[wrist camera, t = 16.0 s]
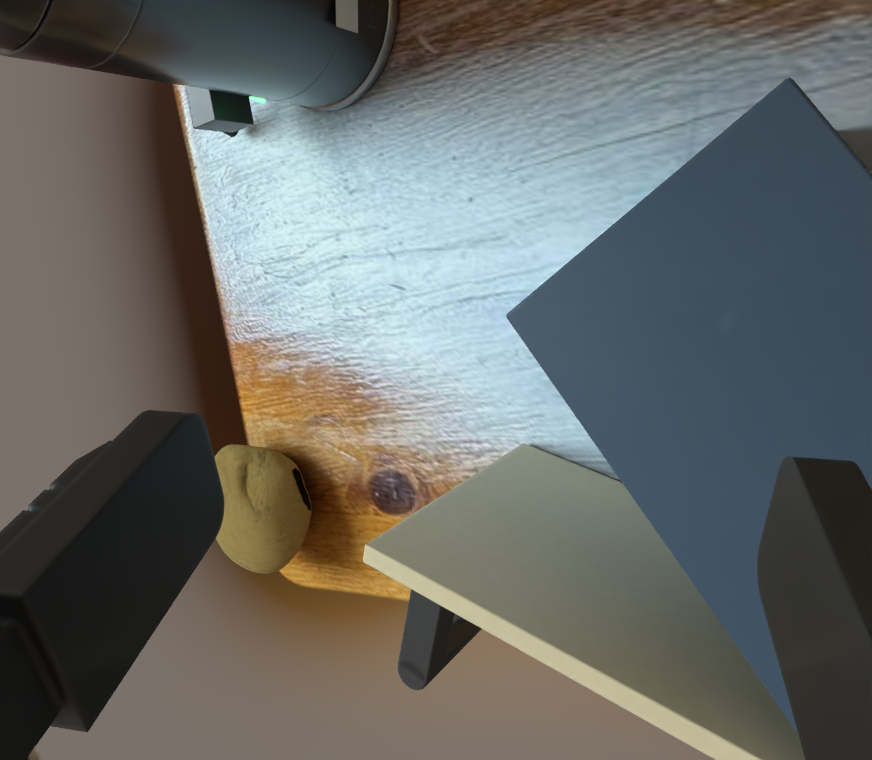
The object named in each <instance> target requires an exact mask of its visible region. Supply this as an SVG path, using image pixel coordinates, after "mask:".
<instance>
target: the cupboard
mask: <svg viewBox="0 0 872 760" xmlns="http://www.w3.org/2000/svg"><path fill="white" fill-rule="evenodd" d="M507 319H508V320H509V321H510V323H511V324H512V326H513V327H514V329H515V330H516V331H517V333H518V334H519V336H520V337H521V339H522V340H523V341H524V343H525V344H526V346H527V347H528V349H529V350H530V351H531V353H532V354H533V356H534V357H535V359H536V360H537V361H538V363H539V364H540V366H541V367H542V369H543V370H544V371H545V373H546V374H547V376H548V377H549V379H550V380H551V381H552V383H553V384H554V386H555V387H556V389H557V390H558V391H559V393H560V394H561V396H562V397H563V399H564V400H565V401H566V403H567V404H568V406H569V407H570V409H571V410H572V411H573V413H574V414H575V416H576V417H577V419H578V420H579V421H580V423H581V424H582V426H583V427H584V429H585V430H586V431H587V433H588V434H589V436H590V437H591V439H592V440H593V441H594V443H595V444H596V446H597V447H598V449H599V450H600V451H601V453H602V454H603V456H604V457H605V459H606V460H607V461H608V463H609V464H610V466H611V467H612V469H613V470H614V471H615V473H616V474H617V476H618V477H619V479H620V480H621V481H622V483H623V484H624V486H625V487H626V489H627V490H628V491H629V493H630V494H631V496H632V497H633V499H634V500H635V501H636V503H637V504H638V506H639V507H640V509H641V510H642V511H643V513H644V514H645V516H646V517H647V519H648V520H649V521H650V523H651V524H652V526H653V527H654V529H655V530H656V531H657V533H658V534H659V536H660V537H661V539H662V540H663V541H664V543H665V544H666V546H667V547H668V549H669V550H670V551H671V553H672V554H673V556H674V557H675V559H676V560H677V561H678V563H679V564H680V566H681V567H682V569H683V570H684V571H685V573H686V574H687V576H688V577H689V579H690V580H691V581H692V583H693V584H694V586H695V587H696V589H697V590H698V591H699V593H700V594H701V596H702V597H703V599H704V600H705V601H706V603H707V604H708V606H709V607H710V609H711V610H712V611H713V613H714V614H715V616H716V617H717V619H718V620H719V621H720V623H721V624H722V626H723V627H724V629H725V630H726V631H727V633H728V634H729V636H730V637H731V639H732V640H733V641H734V643H735V644H736V646H737V647H738V649H739V650H740V651H741V653H742V654H743V656H744V657H745V659H746V660H747V661H748V663H749V664H750V666H751V667H752V669H753V670H754V671H755V673H756V674H757V676H758V677H759V679H760V680H761V681H762V683H763V684H764V686H765V687H766V689H767V690H768V691H769V693H770V694H771V696H772V697H773V699H774V700H775V701H776V703H777V704H778V706H779V707H780V709H781V710H782V711H783V713H784V714H785V716H786V717H787V719H788V720H789V721H790V723H791V724H792V726H793V727H794V729H795V730H796V731H797V733H798V730H797V727H796V723H795V720H794V716H793V712H792V709H791V705H790V702H789V698H788V694H787V691H786V687H785V684H784V680H783V676H782V673H781V669H780V666H779V662H778V658H777V655H776V651H775V648H774V644H773V640H772V637H771V633H770V630H769V626H768V622H767V619H766V615H765V612H764V608H763V604H762V601H761V597H760V593H759V587H758V576H757V561H758V551H759V546H760V541H761V537H762V534H763V530H764V526H765V522H766V518H767V514H768V510H769V506H770V502H771V498H772V494H773V490H774V486H775V482H776V478H777V474H778V471H779V467H780V465H781V463H782V461H783V460H784V458H785V457H787V456H789V457H804V458H818V459H832V460H847V461H853V462H855V463H856V464H857V465H858V466H859V468H860V469H861V471H862V473H863V475H864V477H865V479H866V480H867V482H868V484H869V486H870V488H871V489H872V173H871V172H870V171H869V170H868V169H867V167H866V166H865V165H864V164H863V163H862V161H861V160H860V159H859V158H858V157H857V155H856V154H855V153H854V152H853V151H852V150H851V148H850V147H849V146H848V145H847V144H846V142H845V141H844V140H843V139H842V138H841V136H840V135H839V134H838V133H837V132H836V130H835V129H834V128H833V127H832V126H831V124H830V123H829V122H828V121H827V120H826V118H825V117H824V116H823V115H822V114H821V112H820V111H819V110H818V109H817V108H816V106H815V105H814V104H813V103H812V102H811V100H810V99H809V98H808V97H807V96H806V94H805V93H804V92H803V91H802V90H801V88H800V87H799V86H798V85H797V84H796V82H795V81H794V80H793V79H792V78H787V79H785V80H784V81H783V82H782V83H781V84H780V85H778V86H777V87H776V88H775V89H774V90H772V91H771V92H770V93H769V94H768V95H766V96H765V97H764V98H763V99H762V100H761V101H759V102H758V103H757V104H756V105H755V106H753V107H752V108H751V109H750V110H749V111H747V112H746V113H745V114H744V115H743V116H742V117H740V118H739V119H738V120H737V121H736V122H734V123H733V124H732V125H731V126H730V127H728V128H727V129H726V130H725V131H724V132H723V133H721V134H720V135H719V136H718V137H717V138H715V139H714V140H713V141H712V142H711V143H709V144H708V145H707V146H706V147H705V148H704V149H702V150H701V151H700V152H699V153H698V154H696V155H695V156H694V157H693V158H692V159H690V160H689V161H688V162H687V163H686V164H685V165H683V166H682V167H681V168H680V169H679V170H677V171H676V172H675V173H674V174H673V175H672V176H670V177H669V178H668V179H667V180H666V181H664V182H663V183H662V184H661V185H660V186H658V187H657V188H656V189H655V190H654V191H653V192H651V193H650V194H649V195H648V196H647V197H645V198H644V199H643V200H642V201H641V202H639V203H638V204H637V205H636V206H635V207H634V208H632V209H631V210H630V211H629V212H628V213H626V214H625V215H624V216H623V217H622V218H620V219H619V220H618V221H617V222H616V223H615V224H613V225H612V226H611V227H610V228H609V229H607V230H606V231H605V232H604V233H603V234H601V235H600V236H599V237H598V238H597V239H596V240H594V241H593V242H592V243H591V244H590V245H588V246H587V247H586V248H585V249H584V250H582V251H581V252H580V253H579V254H578V255H577V256H575V257H574V258H573V259H572V260H571V261H569V262H568V263H567V264H566V265H565V266H563V267H562V268H561V269H560V270H559V271H558V272H556V273H555V274H554V275H553V276H552V277H550V278H549V279H548V280H547V281H546V282H544V283H543V284H542V285H541V286H540V287H539V288H537V289H536V290H535V291H534V292H533V293H531V294H530V295H529V296H528V297H527V298H525V299H524V300H523V301H522V302H521V303H520V304H518V305H517V306H516V307H515V308H514V309H512V310H511V311H510V312H509V313H508V314H507Z"/></svg>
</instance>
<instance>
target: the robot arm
mask: <svg viewBox="0 0 872 760" xmlns="http://www.w3.org/2000/svg"><path fill="white" fill-rule="evenodd" d="M397 15H398V0H0V55H3V56H9V57H15V58H21V59H27V60H34V61H39V62H45V63H51V64H57V65H63V66H69V67H77V68H83V69H90V70H95V71H101V72H107V73H113V74H119V75H125V76H130V77H136V78H142V79H148V80H154V81H160V82H166V83H172V84H178V85H184V86H185V89H186V94H187V99H188V104H189V109H190V114H191V118H192V123H193V128H194V129H203V130H212V131H221V132H224V133H225V134H227V135H229V136H231V137H234V136H235V135H237V133H238V131H239V130H241V129H243V128H246V127H249V126H251V125H253V124H254V123H253V117H252V112H251V107H250V101H249V97H250V99H252V100H254V101H257V102H261V103H265V101H266V100H271V101H277V102H283V103H289V104H295V105H299V106H301V107H304V108H308V109H313V110H319V111H332V110H337V109H341V108H344V107H346V106H348V105H350V104H352V103H353V102H355V101H356V100H358V99H359V98H360V97H362V96H363V95H364V94H365V93H366V92H367V91H368V90H369V89H370V87H371V86H372V85H373V84H374V82H375V81H376V80H377V78H378V76H379V75H380V73H381V72H382V70H383V68H384V66H385V64H386V61H387V59H388V56H389V54H390V51H391V48H392V45H393V41H394V37H395V31H396V25H397ZM224 507H225V502H224V494H223V490H222V486H221V482H220V478H219V474H218V470H217V466H216V462H215V458H214V454H213V450H212V447H211V442H210V438H209V434H208V430H207V427H206V424H205V422H204V420H203V418H202V417H201V416H200V415H198V414H196V413H182V412H167V411H153V410H148V411H144V412H142V413H141V414H140V415H139V416H137V417H136V418H135V419H134V420H133V421H132V422H131V423H130V424H129V425H128V426H127V427H126V428H125V429H124V430H123V431H122V432H121V433H120V434H119V435H118V436H117V437H116V438H115V439H114V440H113V441H109V442H107V443H105V444H103V445H102V446H100V447H98V448H97V449H95V450H93V451H91V452H90V453H88V454H86V455H84V456H83V457H81V458H79V459H78V460H76V461H75V462H73V463H72V465H70V466H69V467H68V468H67V469H66V470H65V471H64V472H63V473H62V474H61V475H60V476H59V477H58V478H57V479H56V480H55V481H54V482H53V483H52V484H50V489H49V490H44V491H43V492H42V493H41V494H40V495H39V496H38V497H37V498H36V499H35V500H34V501H32V503H30V504H29V509H28V511H22V512H21V513H20V514H19V515H18V516H17V517H16V518H15V519H14V520H12V521H11V522H10V523H9V524H8V525H7V526H6V527H5V528H4V529H3V530H2V531H1V532H0V760H41V755H40V753H39V751H38V748H37V747H36V745H37V743H38V742H39V740H40V739H41V738H42V736H43V735H44V733H45V732H46V731H47V729H48V728H49V726H53V727H59V728H65V729H71V730H77V731H84V732H88V731H89V729H90V728H91V726H92V725H93V723H94V722H95V720H96V719H97V717H98V716H99V714H100V713H101V711H102V710H103V708H104V707H105V705H106V704H107V702H108V700H109V699H110V697H111V696H112V694H113V693H114V691H115V690H116V688H117V687H118V685H119V684H120V682H121V681H122V679H123V678H124V676H125V675H126V673H127V672H128V670H129V669H130V667H131V666H132V664H133V662H134V661H135V660H136V658H137V657H138V655H139V653H140V652H141V650H142V649H143V647H144V646H145V644H146V643H147V641H148V640H149V638H150V637H151V635H152V634H153V632H154V631H155V629H156V627H157V626H158V625H159V623H160V622H161V620H162V619H163V617H164V616H165V614H166V613H167V611H168V609H169V608H170V607H171V605H172V603H173V602H174V600H175V599H176V597H177V596H178V594H179V593H180V591H181V590H182V588H183V587H184V585H185V584H186V582H187V581H188V579H189V578H190V576H191V575H192V573H193V572H194V570H195V569H196V567H197V565H198V564H199V562H200V561H201V560H202V558H203V556H204V555H205V553H206V552H207V550H208V549H209V547H210V546H211V544H212V543H213V541H214V540H215V538H216V536H217V535H218V533H219V530H220V528H221V525H222V521H223V516H224ZM757 576H758V587H759V593H760V597H761V601H762V604H763V608H764V612H765V615H766V619H767V622H768V626H769V630H770V633H771V637H772V640H773V644H774V648H775V651H776V655H777V658H778V662H779V666H780V669H781V673H782V676H783V680H784V684H785V687H786V691H787V694H788V698H789V702H790V705H791V709H792V712H793V716H794V720H795V723H796V727H797V730H798V734H799V738H800V741H801V745H802V748H803V752H804V756H805V759H806V760H872V489H871V488H870V486H869V484H868V482H867V480H866V479H865V477H864V475H863V473H862V471H861V469H860V468H859V466H858V465H857V464H856V463H855V462H853V461H847V460H832V459H818V458H804V457H789V456H787V457H785V458H784V460H783V461H782V463H781V465H780V467H779V471H778V474H777V478H776V482H775V486H774V490H773V494H772V498H771V502H770V506H769V510H768V514H767V518H766V522H765V526H764V530H763V534H762V537H761V541H760V546H759V551H758V561H757Z"/></svg>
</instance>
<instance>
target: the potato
mask: <svg viewBox="0 0 872 760" xmlns="http://www.w3.org/2000/svg"><path fill="white" fill-rule="evenodd" d="M215 462H216V466H217V470H218V474H219V478H220V482H221V486H222V490H223V494H224V502H225V507H224V516H223V521H222V525H221V528H220V530H219V533H218V535H217V536H216V539H217V541H218V543H219V545H220V547H221V548H222V549H223V551H224V552H225V553H226V555H227V556H228V557H229V558H230V559H232V560H233V561H234V562H235V563H237V564H238V565H240V566H242V567H243V568H245V569H247V570H250V571H252V572H256V573H260V574H269V573H273V572H276V571H278V570H280V569H282V568H283V567H284V566H285V565H286V564H288V563H289V562H290V560H291V559H292V558H293V557H294V556H295V554H296V553H297V552H298V550H299V549H300V547H301V546H302V544H303V542H304V540H305V537H306V534H307V531H308V528H309V524H310V518H311V513H312V506H311V501H310V496H309V493H308V491H307V489H306V487H305V483H304V480H303V476H302V474H301V472H300V470H299V468H298V467H297V465H296V464H295V463H294V462H293V461H292V460H290V459H289V458H287V457H286V456H284V455H283V454H281V453H280V452H278V451H276V450H273V449H269V448H263V447H254V446H245V445H236V444H235V445H228V446H226V447H224V448H222V449H221V450H220V451H219V452H218V453H217V455H216V456H215Z"/></svg>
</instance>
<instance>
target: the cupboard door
mask: <svg viewBox="0 0 872 760" xmlns="http://www.w3.org/2000/svg"><path fill="white" fill-rule="evenodd" d="M363 562H364V563H366V564H368V565H369V566H371V567H373V568H375V569H376V570H378V571H380V572H382V573H384V574H385V575H387V576H389V577H391V578H393V579H394V580H396V581H398V582H400V583H401V584H403V585H405V586H407V587H409V588H410V589H411V594H410V600H409V605H408V612H407V617H406V623H405V628H404V633H403V639H402V645H401V650H400V656H399V662H398V673H399V675H400V678H401V679H402V681H403V682H404V683H405V684H406V685H407V686H408V687H410V688H412V689H414V690H420V689H423V688H424V687H425V686H426V685H427V684H428V683H429V682H430V681H431V680H432V679H433V678H434V677H435V676H436V675H437V674H438V673H439V672H440V671H441V670H442V669H443V668H444V667H445V666H446V665H447V664H448V663H449V662H450V661H451V660H452V659H453V658H454V657H455V656H456V655H457V654H458V653H459V652H460V650H461V649H462V648H463V647H464V646H465V645H466V644H467V643H468V642H469V641H470V640H471V639H472V638H473V637H474V636H475V635H476V634H477V633H478V632H479V631H480V630H481V629H484V630H485V631H487V632H489V633H491V634H492V635H494V636H496V637H498V638H500V639H501V640H503V641H505V642H507V643H508V644H510V645H512V646H514V647H516V648H517V649H519V650H521V651H523V652H525V653H526V654H528V655H530V656H532V657H533V658H535V659H537V660H539V661H540V662H542V663H544V664H546V665H548V666H549V667H551V668H553V669H555V670H557V671H558V672H560V673H562V674H564V675H565V676H568V677H569V678H571V679H573V680H575V681H576V682H578V683H580V684H582V685H583V686H585V687H587V688H589V689H590V690H592V691H594V692H596V693H598V694H600V695H601V696H603V697H605V698H606V699H609V700H610V701H612V702H614V703H616V704H617V705H619V706H621V707H622V708H624V709H626V710H628V711H630V712H632V713H633V714H635V715H637V716H639V717H640V718H642V719H644V720H646V721H647V722H649V723H651V724H653V725H655V726H656V727H658V728H660V729H662V730H664V731H665V732H667V733H669V734H671V735H672V736H674V737H676V738H678V739H680V740H681V741H683V742H685V743H687V744H688V745H690V746H692V747H694V748H696V749H697V750H699V751H701V752H703V753H705V754H706V755H708V756H710V757H712V758H714V759H715V760H806V759H805V756H804V752H803V748H802V745H801V741H800V738H799V734H798V733H797V731H796V730H795V729H794V727H793V726H792V724H791V723H790V721H789V720H788V719H787V717H786V716H785V714H784V713H783V711H782V710H781V709H780V707H779V706H778V704H777V703H776V701H775V700H774V699H773V697H772V696H771V694H770V693H769V691H768V690H767V689H766V687H765V686H764V684H763V683H762V681H761V680H760V679H759V677H758V676H757V674H756V673H755V671H754V670H753V669H752V667H751V666H750V664H749V663H748V661H747V660H746V659H745V657H744V656H743V654H742V653H741V651H740V650H739V649H738V647H737V646H736V644H735V643H734V641H733V640H732V639H731V637H730V636H729V634H728V633H727V631H726V630H725V629H724V627H723V626H722V624H721V623H720V621H719V620H718V619H717V617H716V616H715V614H714V613H713V611H712V610H711V609H710V607H709V606H708V604H707V603H706V601H705V600H704V599H703V597H702V596H701V594H700V593H699V591H698V590H697V589H696V587H695V586H694V584H693V583H692V581H691V580H690V579H689V577H688V576H687V574H686V573H685V571H684V570H683V569H682V567H681V566H680V564H679V563H678V561H677V560H676V559H675V557H674V556H673V554H672V553H671V551H670V550H669V549H668V547H667V546H666V544H665V543H664V541H663V540H662V539H661V537H660V536H659V534H658V533H657V531H656V530H655V529H654V527H653V526H652V524H651V523H650V521H649V520H648V519H647V517H646V516H645V514H644V513H643V511H642V510H641V509H640V507H639V506H638V504H637V503H636V501H635V500H634V499H633V497H632V496H631V494H630V493H629V491H628V490H627V489H626V487H625V486H624V484H623V483H622V482H619V481H617V480H614V479H612V478H609V477H607V476H604V475H602V474H599V473H597V472H594V471H592V470H589V469H587V468H584V467H582V466H579V465H577V464H574V463H572V462H569V461H567V460H564V459H562V458H559V457H557V456H554V455H552V454H549V453H547V452H544V451H542V450H539V449H537V448H534V447H532V446H529V445H527V444H524V443H523V444H521V445H520V446H518V447H517V448H515V449H513V450H512V451H510V452H509V453H507V454H506V455H504V456H503V457H501V458H499V459H498V460H496V461H495V462H493V463H492V464H490V465H489V466H487V467H485V468H484V469H482V470H481V471H479V472H478V473H476V474H475V475H473V476H471V477H470V478H468V479H467V480H465V481H464V482H462V483H461V484H459V485H457V486H456V487H454V488H453V489H451V490H450V491H448V492H446V493H445V494H443V495H442V496H440V497H439V498H437V499H436V500H434V501H432V502H431V503H429V504H428V505H426V506H425V507H423V508H422V509H420V510H418V511H417V512H415V513H414V514H412V515H411V516H409V517H408V518H406V519H404V520H403V521H401V522H400V523H398V524H397V525H395V526H394V527H392V528H390V529H389V530H387V531H386V532H384V533H383V534H381V535H379V536H378V537H376V538H375V539H373V540H372V541H370V542H369V543H367V544H366V545H365V550H364V557H363Z"/></svg>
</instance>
